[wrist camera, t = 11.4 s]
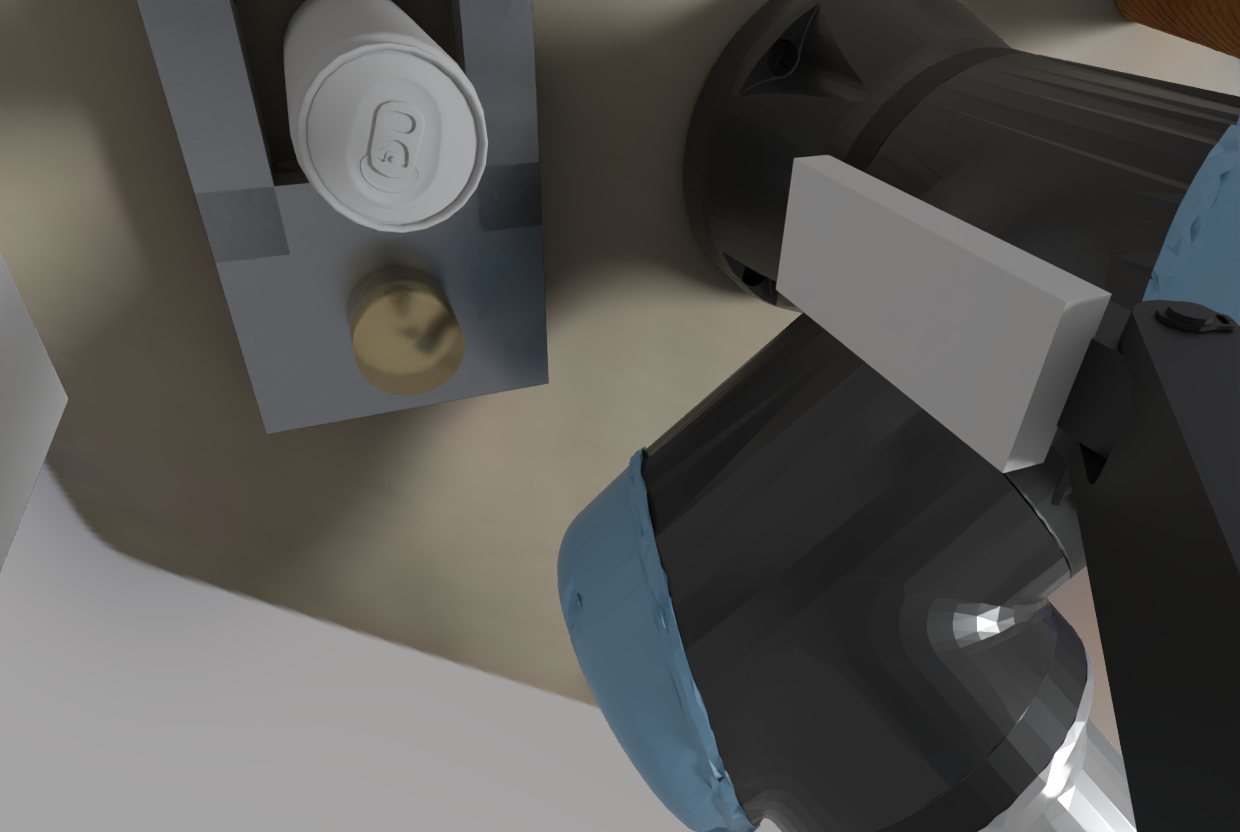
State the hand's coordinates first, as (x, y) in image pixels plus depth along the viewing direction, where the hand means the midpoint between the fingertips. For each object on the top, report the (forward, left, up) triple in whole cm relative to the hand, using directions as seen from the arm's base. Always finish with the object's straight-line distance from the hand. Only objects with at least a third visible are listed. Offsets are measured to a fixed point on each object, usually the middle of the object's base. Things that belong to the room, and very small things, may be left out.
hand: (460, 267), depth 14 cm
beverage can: (0, 0, -20) cm, 20 cm away
